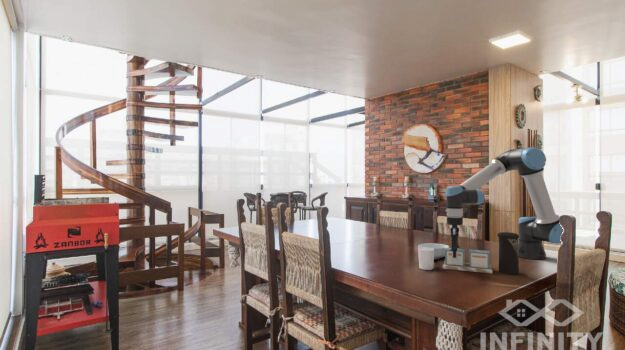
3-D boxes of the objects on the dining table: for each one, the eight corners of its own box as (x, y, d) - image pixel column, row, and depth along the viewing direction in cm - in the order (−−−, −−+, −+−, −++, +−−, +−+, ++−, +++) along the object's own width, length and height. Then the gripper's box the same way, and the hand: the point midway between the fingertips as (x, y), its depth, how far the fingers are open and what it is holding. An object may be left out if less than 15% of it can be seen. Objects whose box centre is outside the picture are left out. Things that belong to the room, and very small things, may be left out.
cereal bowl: (444, 254, 208) (444, 242, 208) (453, 261, 192) (453, 248, 192) (415, 254, 210) (415, 242, 210) (421, 260, 193) (421, 248, 193)
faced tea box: (469, 267, 175) (469, 249, 175) (489, 269, 171) (489, 250, 171) (469, 269, 170) (468, 251, 170) (489, 271, 167) (489, 253, 167)
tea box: (445, 265, 180) (445, 247, 180) (464, 266, 176) (464, 249, 176) (445, 267, 175) (445, 249, 175) (464, 269, 171) (464, 251, 171)
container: (519, 278, 159) (518, 234, 160) (497, 275, 164) (496, 232, 164) (519, 273, 167) (519, 231, 167) (498, 271, 172) (498, 230, 172)
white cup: (434, 267, 180) (434, 247, 180) (434, 270, 173) (434, 250, 173) (418, 265, 183) (418, 246, 183) (417, 269, 175) (417, 249, 175)
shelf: (491, 270, 173) (491, 265, 173) (492, 275, 164) (492, 270, 164) (444, 265, 182) (444, 260, 182) (442, 270, 173) (442, 265, 173)
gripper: (448, 214, 186) (448, 257, 186) (445, 218, 168) (445, 266, 168) (463, 215, 183) (463, 258, 183) (462, 219, 165) (462, 267, 165)
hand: (455, 262), depth 176 cm, fingers open, 7 cm apart
